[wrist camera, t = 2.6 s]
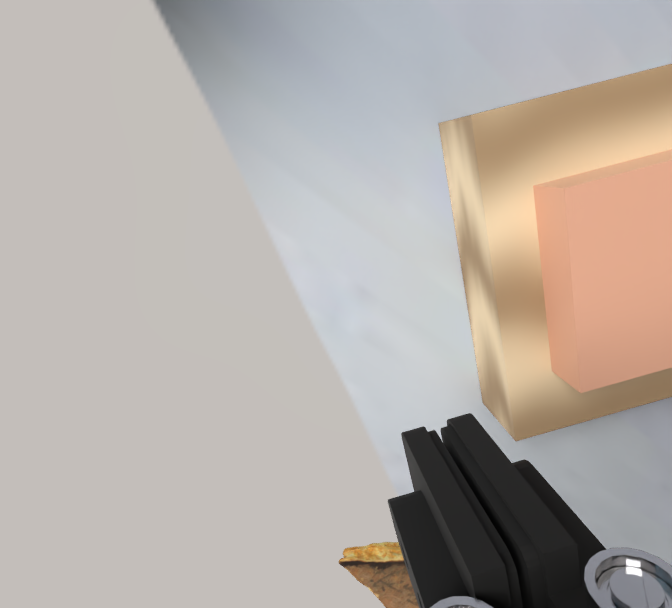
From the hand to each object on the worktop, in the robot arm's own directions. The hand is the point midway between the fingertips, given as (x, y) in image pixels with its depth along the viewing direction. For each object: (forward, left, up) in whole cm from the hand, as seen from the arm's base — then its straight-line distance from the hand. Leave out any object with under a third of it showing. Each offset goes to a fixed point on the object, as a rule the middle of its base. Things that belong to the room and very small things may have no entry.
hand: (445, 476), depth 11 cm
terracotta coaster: (-1, +11, -8) cm, 14 cm away
